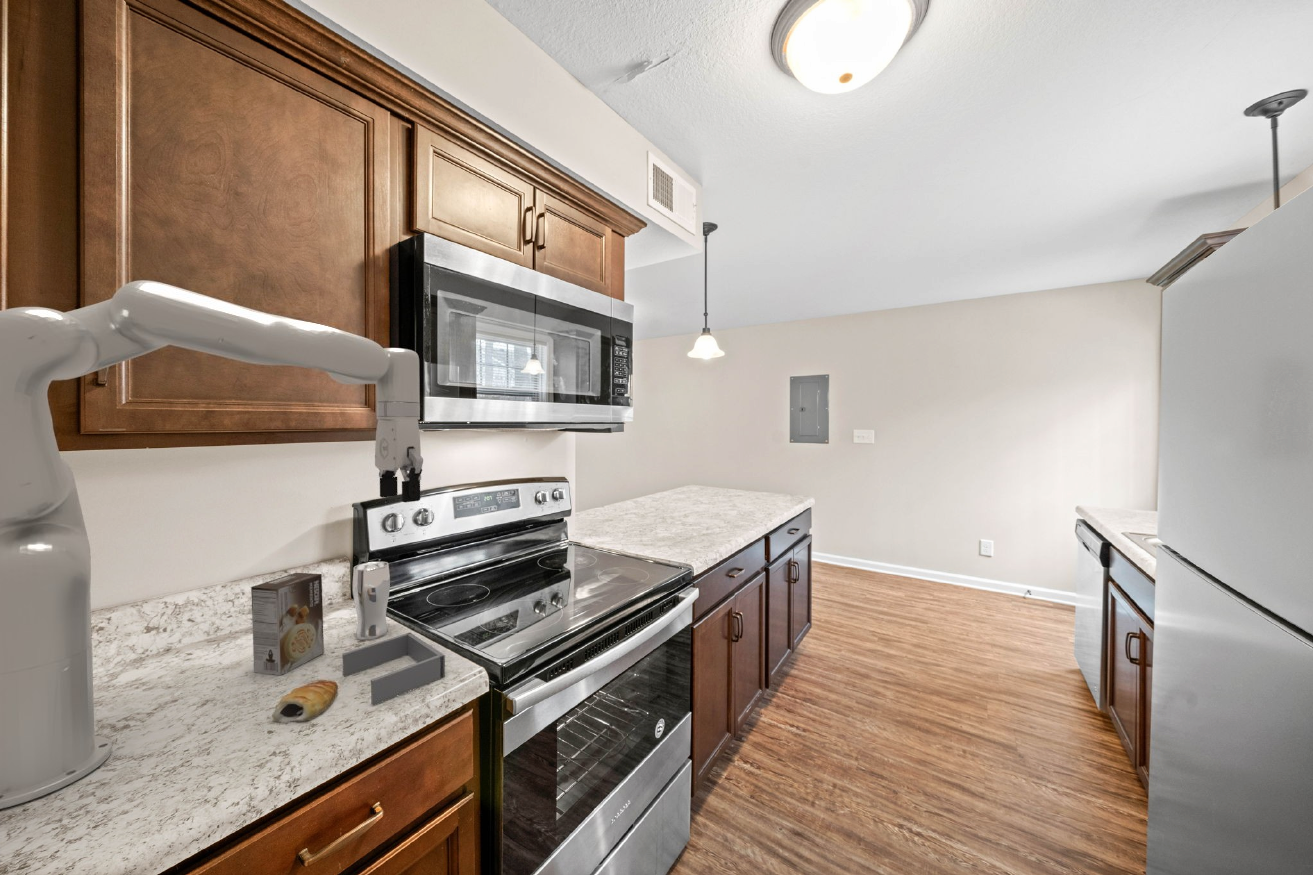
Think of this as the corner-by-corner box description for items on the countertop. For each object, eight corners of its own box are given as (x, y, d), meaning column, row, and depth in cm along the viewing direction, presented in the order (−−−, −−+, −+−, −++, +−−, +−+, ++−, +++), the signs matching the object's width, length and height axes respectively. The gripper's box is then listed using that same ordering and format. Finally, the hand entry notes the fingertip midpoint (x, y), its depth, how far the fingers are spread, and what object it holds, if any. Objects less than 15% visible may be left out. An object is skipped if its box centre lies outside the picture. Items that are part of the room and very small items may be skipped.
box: (373, 705, 78) (372, 681, 78) (342, 675, 87) (342, 653, 87) (444, 676, 87) (444, 654, 87) (410, 652, 96) (410, 632, 96)
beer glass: (345, 637, 103) (344, 568, 102) (375, 625, 109) (375, 559, 109) (368, 643, 100) (367, 571, 100) (397, 630, 107) (396, 563, 106)
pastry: (309, 691, 83) (309, 669, 82) (350, 690, 83) (350, 669, 83) (267, 725, 73) (267, 700, 73) (313, 724, 73) (313, 700, 73)
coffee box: (298, 650, 97) (297, 571, 97) (325, 653, 96) (323, 573, 96) (251, 673, 88) (250, 586, 88) (280, 676, 87) (279, 588, 87)
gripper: (359, 412, 97) (361, 497, 98) (398, 411, 86) (399, 506, 87) (398, 413, 103) (399, 493, 103) (439, 412, 92) (440, 501, 93)
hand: (399, 499), depth 95 cm, fingers open, 9 cm apart
